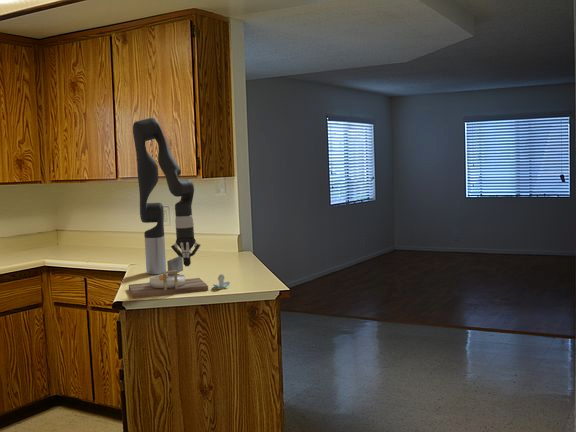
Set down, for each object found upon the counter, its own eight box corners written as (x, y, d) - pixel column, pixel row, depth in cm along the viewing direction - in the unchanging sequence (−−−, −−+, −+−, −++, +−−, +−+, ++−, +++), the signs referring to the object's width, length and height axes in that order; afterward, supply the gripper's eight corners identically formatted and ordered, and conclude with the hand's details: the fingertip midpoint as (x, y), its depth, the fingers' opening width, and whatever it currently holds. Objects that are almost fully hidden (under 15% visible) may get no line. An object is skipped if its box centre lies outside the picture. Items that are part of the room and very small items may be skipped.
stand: (128, 289, 274) (127, 267, 273) (199, 282, 284) (198, 261, 283) (133, 298, 257) (131, 275, 256) (208, 290, 267) (207, 268, 266)
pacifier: (208, 289, 271) (217, 290, 266) (207, 274, 270) (216, 275, 266) (223, 286, 275) (231, 287, 271) (222, 271, 275) (230, 272, 270)
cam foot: (166, 276, 287) (164, 256, 286) (197, 277, 284) (196, 256, 283) (144, 287, 265) (142, 265, 264) (177, 288, 262) (176, 265, 261)
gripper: (167, 227, 277) (170, 268, 279) (197, 226, 276) (200, 267, 278) (171, 225, 285) (174, 265, 286) (201, 224, 283) (204, 264, 285)
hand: (187, 266), depth 282 cm, fingers closed
